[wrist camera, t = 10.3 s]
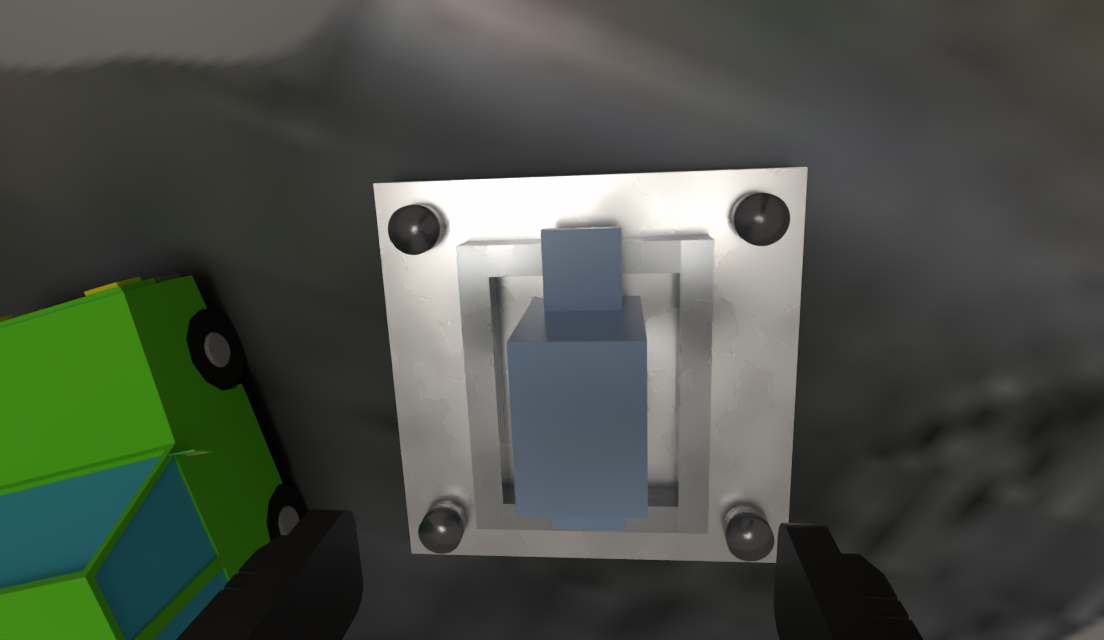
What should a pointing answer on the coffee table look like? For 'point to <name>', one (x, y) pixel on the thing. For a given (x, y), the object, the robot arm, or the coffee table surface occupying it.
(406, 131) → the coffee table surface
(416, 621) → the coffee table surface
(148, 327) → the toy car
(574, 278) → the block
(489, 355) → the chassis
